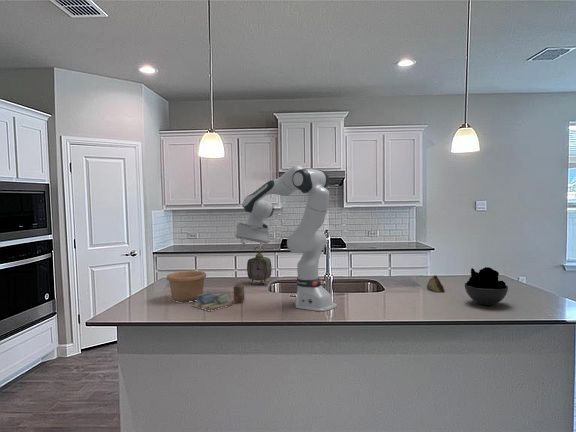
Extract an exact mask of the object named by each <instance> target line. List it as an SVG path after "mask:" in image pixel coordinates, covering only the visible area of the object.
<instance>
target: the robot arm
mask: <svg viewBox="0 0 576 432" xmlns="http://www.w3.org/2000/svg"><path fill="white" fill-rule="evenodd" d="M329 184H330V177H329V175H328V173H327V172H325V171H324V170H322V169H321V170H320V169H314V168H304V167H303V166H301V165H300V164H295V165H293V166H292V167H289V169H287V170H286V171H285V172H284V173H283V174H282V175H281V176H280V177H278V178H276V179H273V180H269V181H267V182H266V183H264V184H263V185H261V186H260V187H259V188H257V189H256V190H255V191H253V193H251V194H249V195H247V196H245V198H244V199H243V202H242V207H243V209H244V211H245V212H247V213H248V218H247V222H246V223H243V222H239V223H237V224H236V226H235V227H236V231H235V238H236V239H240V242H241V247H245V245H246V242H244V240H246V241H251V242H255V243H259V245H258V246H257V247H258V248H257V249H258V250H261V249H262V248H261V247H262V246H263V245H264V244H269V243H270V241H271V232H270V226H269V225H268V224H266V223H264V222H263V220H265V219H269V218H270V217H272V216H273V214H274V212H275V211H274V209H275V208H274V207H275V206H274V204H273V203H272V202H270V201H267V200H265V199H263V198H265V197H266V196H268V195H277V196H285V197H287V196H290V195H292V194H293V193H295V192H296V191H297V190H299V191H301V193H302V194H307V196H308V197H307V201H306V204H305V208H304V212H303V214H302V218H301V221H300V222H299V224H298V225H297V227H296V229H295V230H294V231H293V232H292V234H290V235H289V236H288V238H287V239H286V240H287V241H286V246H287V248H288V250H289V252H291V253H294V254H301V255H302V256H301V258H300V259H299V261H298V262H297V265H296V267H297V278H296V285H297V290H296V299H295V303H294V305H295V308H296V309H301V310H302V309H303V310H307V311H308V310H309V311H315V312H326V311H330V310H333V309H335V308H336V307H338V305H337V303H335V302H333V298H332V295H331V293H330V292H329V291H327V289H325V288H324V286H323V285H322V283H323V279H322V280H320V278H319V277H320V276H319V263H320V258H321V255H322V251H323V249H324V248H325V247H326V246H327V241H328V240H327V236H326V234H325V233H324V232H322V231H320V230H319V229H320V228H321V227H322V226H323V225H324V223H325V218H326V214H327V211H328V207H329V202H330V191H329V190H328V189H327V187H328V185H329Z"/></svg>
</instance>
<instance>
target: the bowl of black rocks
mask: <svg viewBox="0 0 576 432" xmlns="http://www.w3.org/2000/svg"><path fill="white" fill-rule="evenodd" d="M499 275H500V273H499V272H498V271H497V270H495V269H493V268H491V267H489V266H487V267H486V266H485V267H483V268H481V269H479V271H477V270H476V271H475V268H473V267H471V269H470V277H469V278H468V280H467V281H466V282H465V283H464V290H465V292H466V294H467V295H468V296H469V298H470V299H471V300H473V301H474V302H476V303H478V304H480V305H483V306H492V305H495V304H499V303H500V302H501V301H503V300H504V298H505V297H506V296H507V293H508V291H509V286H508V285H507V284H506V282H505V281H504V280H499Z"/></svg>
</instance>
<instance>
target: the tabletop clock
mask: <svg viewBox="0 0 576 432" xmlns="http://www.w3.org/2000/svg"><path fill="white" fill-rule="evenodd" d="M256 249H258V246H256V247H255V248H254V252H255V253H256V255H255V256H254V257H252V258H249V259H247V261H246V262H247V263H246V273H247V278H248V279H249V280H251V281H250V282H249V284H250V285H253V282H254V281H259V282H260V284H263V283H264V286H267V285H268V283H267V282H266V280H267V279H269V278H271V277H272V270H273V269H272V268H273V267H272V261H271V258H270V257H266V256H264V255H263V253H264V252H265V248H264V247H262V246H261V249H262V251H260V250H259V251H256ZM263 281H264V282H263Z"/></svg>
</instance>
